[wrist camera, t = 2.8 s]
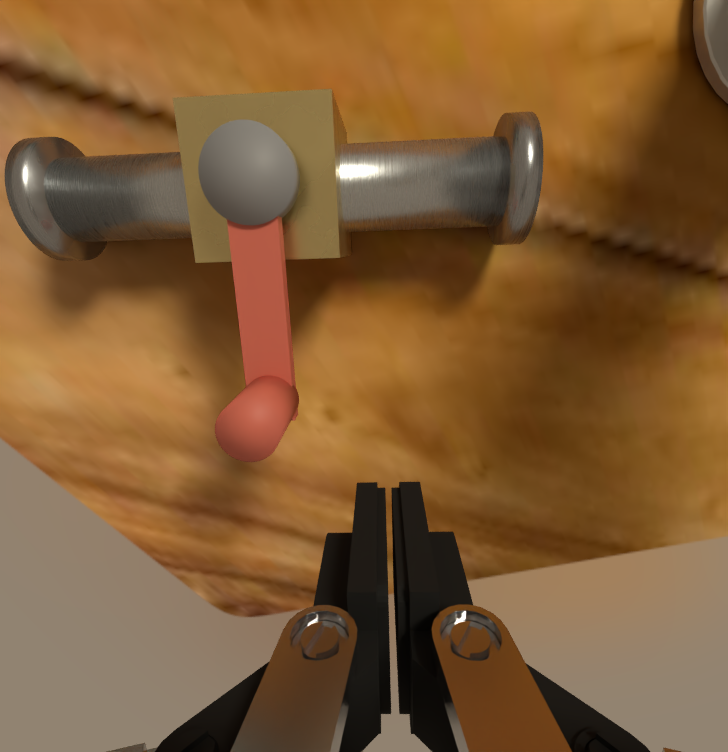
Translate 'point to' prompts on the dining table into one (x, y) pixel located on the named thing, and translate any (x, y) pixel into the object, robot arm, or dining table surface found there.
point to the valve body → (316, 191)
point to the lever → (255, 278)
